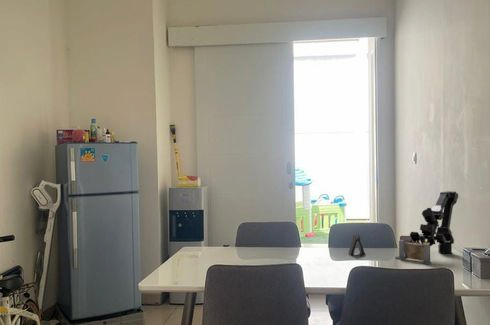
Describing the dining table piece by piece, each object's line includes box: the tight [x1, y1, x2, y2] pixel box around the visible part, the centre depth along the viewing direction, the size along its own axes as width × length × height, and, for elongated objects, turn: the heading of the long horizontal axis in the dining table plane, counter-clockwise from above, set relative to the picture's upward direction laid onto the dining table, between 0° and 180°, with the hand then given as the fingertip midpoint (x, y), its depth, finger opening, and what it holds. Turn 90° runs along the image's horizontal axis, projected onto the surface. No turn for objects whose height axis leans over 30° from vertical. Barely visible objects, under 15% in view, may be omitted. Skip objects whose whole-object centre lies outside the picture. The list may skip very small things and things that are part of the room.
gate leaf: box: [405, 242, 431, 262], centre depth 246 cm, size 14×2×9 cm, turn 44°
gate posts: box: [394, 239, 432, 265], centre depth 247 cm, size 20×7×11 cm, turn 45°
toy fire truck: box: [399, 235, 421, 247], centre depth 271 cm, size 7×12×10 cm, turn 84°
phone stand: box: [347, 233, 366, 257], centre depth 267 cm, size 9×6×12 cm, turn 89°
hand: (423, 249), depth 245 cm, fingers closed
